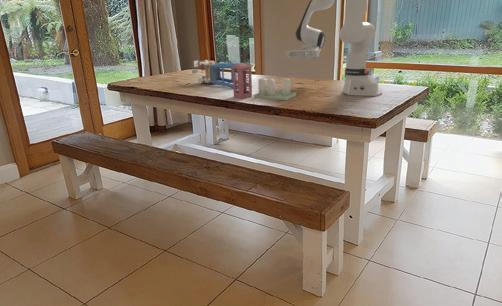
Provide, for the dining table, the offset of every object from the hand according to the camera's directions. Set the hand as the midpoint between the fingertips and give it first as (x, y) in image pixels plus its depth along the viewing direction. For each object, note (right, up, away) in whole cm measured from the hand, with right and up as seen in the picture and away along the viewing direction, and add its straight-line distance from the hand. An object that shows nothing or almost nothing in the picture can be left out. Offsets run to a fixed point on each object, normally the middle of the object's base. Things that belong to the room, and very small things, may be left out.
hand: (296, 54), depth 227 cm
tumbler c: (-7, -26, -6) cm, 27 cm away
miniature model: (-32, -26, -3) cm, 41 cm away
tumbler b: (-20, -25, -4) cm, 33 cm away
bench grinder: (-47, -10, +43) cm, 65 cm away
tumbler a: (-15, -26, -7) cm, 31 cm away
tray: (-13, -26, -5) cm, 30 cm away
